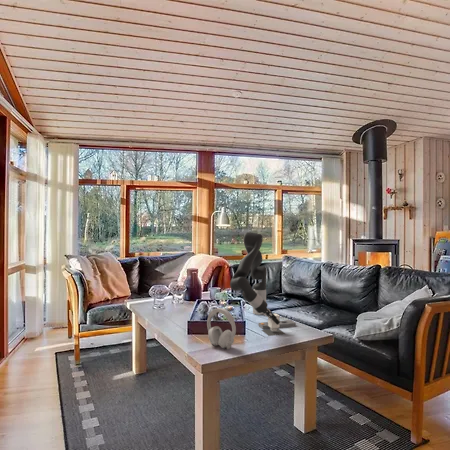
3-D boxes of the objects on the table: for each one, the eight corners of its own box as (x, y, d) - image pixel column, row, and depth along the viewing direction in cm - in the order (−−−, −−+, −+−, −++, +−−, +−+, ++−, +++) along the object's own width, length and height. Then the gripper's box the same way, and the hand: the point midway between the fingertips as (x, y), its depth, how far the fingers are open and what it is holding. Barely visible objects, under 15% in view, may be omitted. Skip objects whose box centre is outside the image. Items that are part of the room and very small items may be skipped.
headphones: (202, 344, 193) (202, 306, 193) (213, 340, 199) (213, 304, 199) (229, 353, 180) (229, 313, 180) (239, 349, 186) (240, 310, 186)
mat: (261, 331, 216) (261, 330, 216) (278, 329, 219) (278, 328, 219) (268, 336, 206) (268, 335, 206) (286, 335, 209) (286, 334, 209)
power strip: (258, 326, 225) (258, 322, 225) (290, 324, 231) (290, 319, 231) (262, 330, 218) (262, 325, 218) (295, 327, 224) (295, 322, 224)
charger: (268, 329, 214) (268, 313, 214) (275, 328, 216) (275, 313, 216) (271, 331, 209) (271, 316, 209) (279, 330, 211) (279, 315, 211)
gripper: (266, 300, 203) (286, 320, 207) (257, 295, 217) (275, 314, 221) (258, 310, 202) (277, 330, 205) (249, 305, 216) (267, 323, 219)
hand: (276, 322), depth 213 cm, fingers closed on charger, 5 cm apart
